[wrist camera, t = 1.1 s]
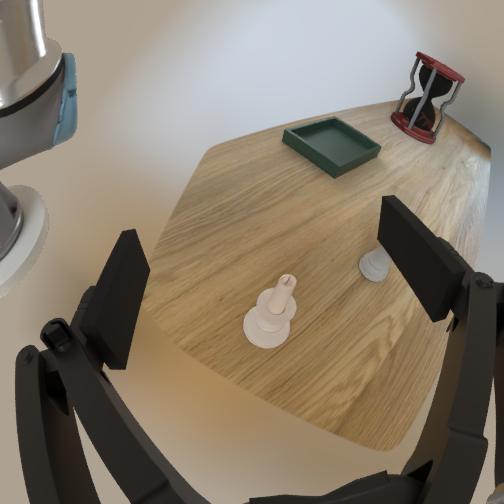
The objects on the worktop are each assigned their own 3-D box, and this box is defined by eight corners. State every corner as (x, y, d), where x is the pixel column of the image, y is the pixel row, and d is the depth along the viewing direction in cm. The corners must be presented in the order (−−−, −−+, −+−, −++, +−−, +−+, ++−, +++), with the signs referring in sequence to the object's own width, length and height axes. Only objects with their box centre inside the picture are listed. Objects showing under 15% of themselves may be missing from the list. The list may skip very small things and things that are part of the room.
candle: (236, 339, 31) (249, 293, 22) (251, 299, 34) (268, 243, 26) (282, 354, 30) (314, 314, 22) (293, 314, 33) (324, 262, 25)
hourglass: (399, 112, 83) (423, 52, 63) (438, 138, 78) (467, 78, 58) (383, 119, 75) (411, 49, 55) (428, 149, 69) (463, 78, 50)
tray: (334, 178, 51) (339, 166, 48) (281, 141, 56) (284, 129, 53) (377, 156, 59) (381, 146, 57) (331, 125, 64) (334, 116, 62)
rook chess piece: (369, 252, 41) (395, 215, 35) (390, 274, 39) (419, 239, 33) (351, 265, 39) (377, 227, 33) (373, 289, 37) (403, 253, 31)
